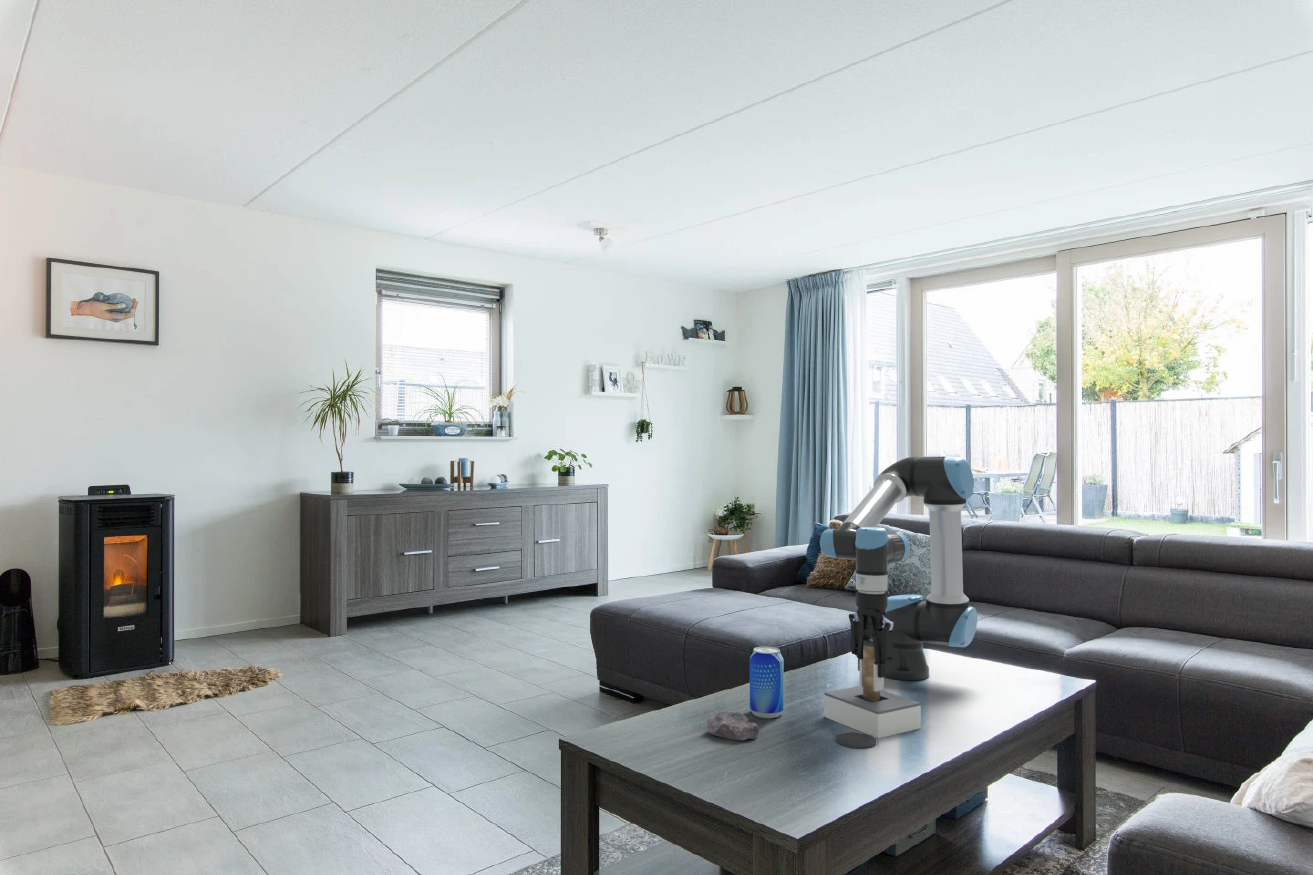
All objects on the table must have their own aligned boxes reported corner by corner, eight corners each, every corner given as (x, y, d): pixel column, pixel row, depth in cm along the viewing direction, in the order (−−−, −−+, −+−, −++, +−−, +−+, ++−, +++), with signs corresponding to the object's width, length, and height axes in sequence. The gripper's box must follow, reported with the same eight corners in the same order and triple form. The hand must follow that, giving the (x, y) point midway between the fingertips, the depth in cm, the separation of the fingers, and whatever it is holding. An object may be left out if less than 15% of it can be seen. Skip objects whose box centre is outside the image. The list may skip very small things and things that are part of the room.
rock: (748, 745, 183) (748, 724, 184) (703, 736, 189) (703, 716, 190) (763, 735, 190) (763, 715, 190) (719, 726, 196) (719, 707, 196)
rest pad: (827, 738, 187) (827, 736, 187) (856, 732, 192) (856, 729, 192) (855, 751, 180) (855, 748, 180) (885, 744, 184) (885, 741, 184)
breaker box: (824, 716, 204) (824, 692, 204) (865, 708, 211) (865, 684, 211) (878, 738, 188) (878, 711, 188) (920, 728, 195) (920, 702, 195)
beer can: (787, 711, 208) (787, 647, 208) (777, 720, 200) (778, 654, 200) (755, 706, 211) (755, 644, 212) (745, 716, 204) (745, 651, 204)
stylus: (859, 705, 200) (859, 639, 201) (871, 703, 202) (871, 638, 203) (871, 710, 197) (871, 643, 197) (883, 708, 199) (883, 641, 199)
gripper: (835, 587, 206) (835, 681, 205) (886, 597, 191) (886, 699, 190) (857, 585, 209) (857, 677, 209) (909, 595, 195) (909, 694, 194)
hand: (871, 687), depth 200 cm, fingers closed on stylus, 4 cm apart
